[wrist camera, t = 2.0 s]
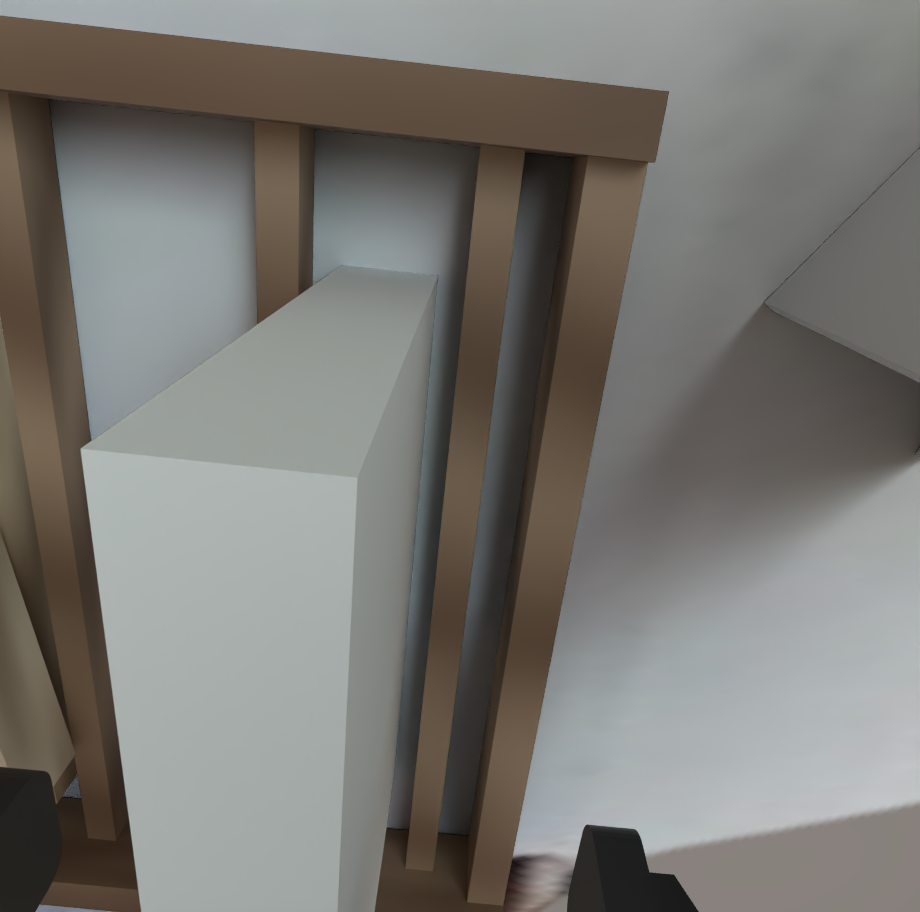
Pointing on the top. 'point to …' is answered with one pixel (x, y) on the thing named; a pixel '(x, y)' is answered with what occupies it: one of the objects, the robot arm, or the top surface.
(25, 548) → the lower offcut
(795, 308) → the grey tall rectangular block
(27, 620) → the upper offcut
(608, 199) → the rack
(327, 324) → the sheet
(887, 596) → the top surface
